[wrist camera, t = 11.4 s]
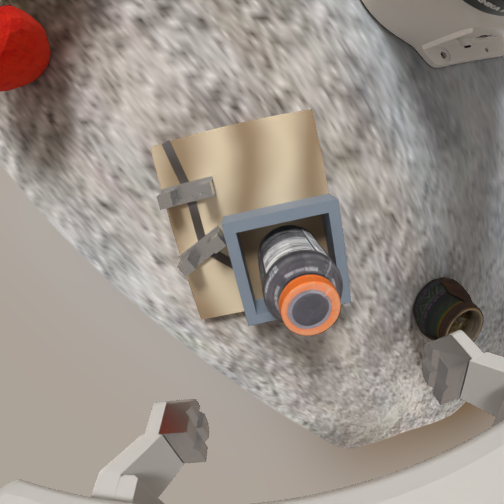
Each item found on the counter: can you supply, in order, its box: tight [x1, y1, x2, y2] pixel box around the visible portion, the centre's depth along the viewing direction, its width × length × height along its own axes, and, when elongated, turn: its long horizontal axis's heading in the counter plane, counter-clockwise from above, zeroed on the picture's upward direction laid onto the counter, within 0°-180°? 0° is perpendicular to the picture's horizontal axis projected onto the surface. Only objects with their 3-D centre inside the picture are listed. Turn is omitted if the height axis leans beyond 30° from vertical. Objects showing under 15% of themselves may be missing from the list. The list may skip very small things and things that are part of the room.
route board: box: [150, 109, 329, 320], centre depth 30 cm, size 15×18×1 cm
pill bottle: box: [258, 225, 343, 336], centre depth 25 cm, size 6×6×11 cm
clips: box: [157, 176, 227, 276], centre depth 28 cm, size 5×8×2 cm, turn 13°
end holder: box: [221, 194, 351, 326], centre depth 29 cm, size 10×10×3 cm
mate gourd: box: [413, 277, 483, 342], centre depth 29 cm, size 7×8×10 cm
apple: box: [0, 5, 51, 92], centre depth 18 cm, size 9×9×11 cm
